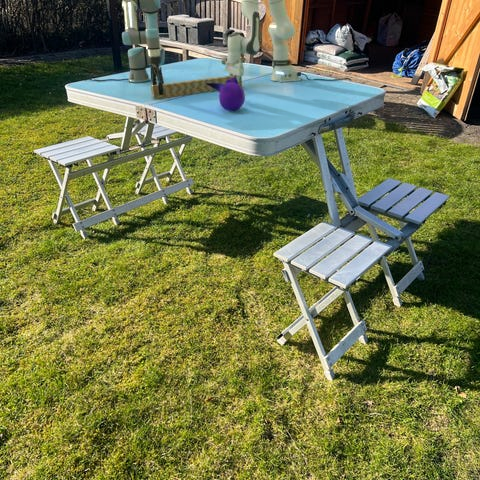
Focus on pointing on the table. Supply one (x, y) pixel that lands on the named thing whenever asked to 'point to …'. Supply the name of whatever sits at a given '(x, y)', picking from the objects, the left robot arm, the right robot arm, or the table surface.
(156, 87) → the bar
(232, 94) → the toy
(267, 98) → the table surface
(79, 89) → the table surface
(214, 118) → the table surface
